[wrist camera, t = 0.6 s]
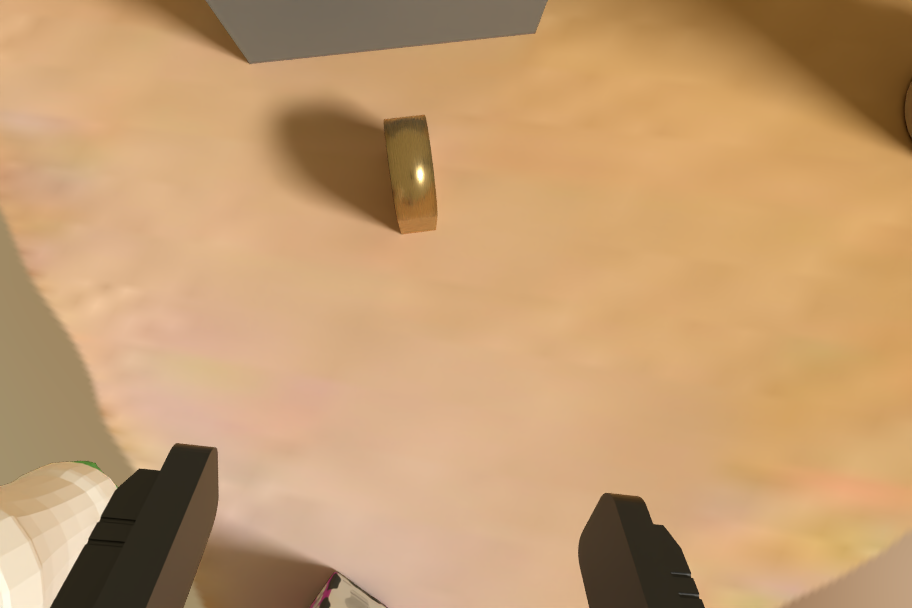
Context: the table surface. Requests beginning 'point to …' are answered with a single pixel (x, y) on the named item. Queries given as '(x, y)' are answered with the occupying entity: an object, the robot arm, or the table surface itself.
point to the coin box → (366, 24)
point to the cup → (47, 528)
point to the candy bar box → (344, 595)
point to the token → (411, 173)
